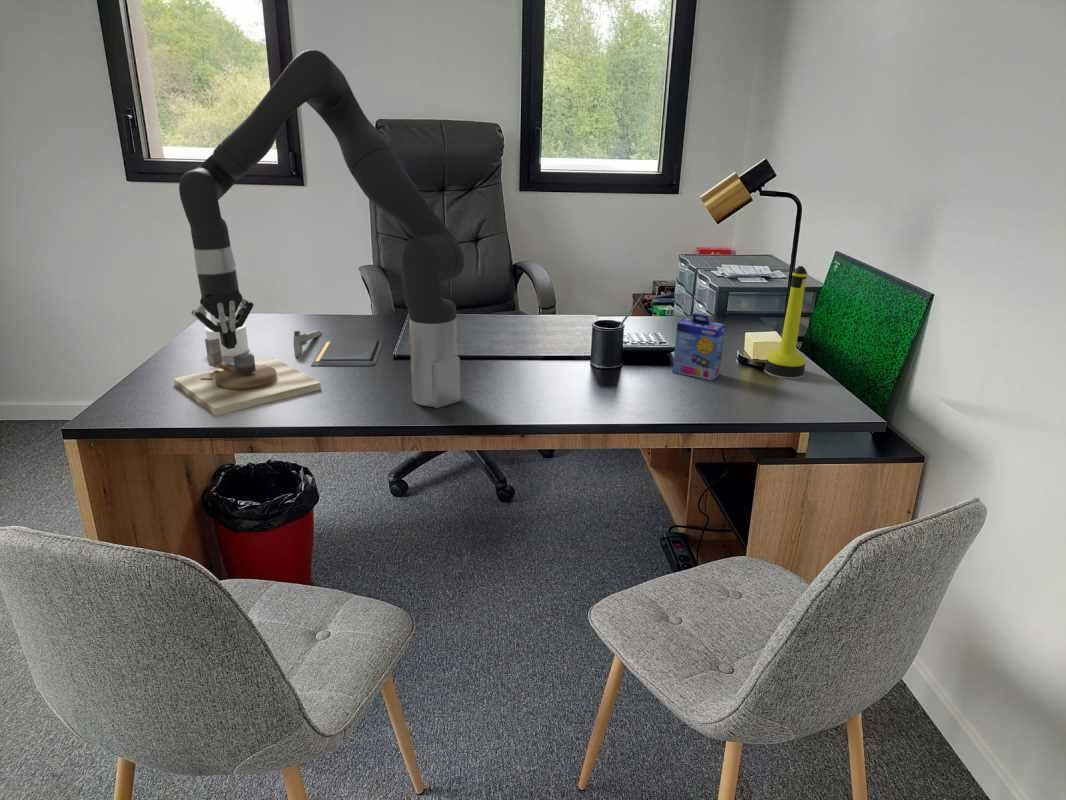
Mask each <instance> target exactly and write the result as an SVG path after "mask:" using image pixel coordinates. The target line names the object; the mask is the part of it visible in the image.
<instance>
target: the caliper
mask: <svg viewBox="0 0 1066 800" xmlns="http://www.w3.org/2000/svg"><path fill="white" fill-rule="evenodd" d="M293 333H294V334H293V335H294V336H293V349H294V357H295V358H300V357H301V356H302V355H303V348H304V347H303V346H305V345H307V344H308V343H307V342H308V341H311V340H312V339H315V338H319V337H320V335H321V334H322V331H321V330H319V329H316V330H313V331H310V332H307V333H306V332H305V333H303V332H302V333H301V330H295V331H294V332H293Z"/></svg>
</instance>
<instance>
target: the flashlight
mask: <svg viewBox="0 0 1066 800" xmlns="http://www.w3.org/2000/svg"><path fill="white" fill-rule="evenodd" d="M791 275H792V278H791V283H790V284H791V285H790V290H789V296H788V301H787V307H786V311H785V312H786V313H785V317H784V323H783V329H782V333H781V334H782V335H781V339H780V340H781V341H780V346H779V349H774V350H773V349H772V351H771V352H769V355H768V356H767V358H766V361H765V365H764V368H763V369H764V370H763V371H764V372H765V373H766V374H767V375H770V376H772V377H775V378H779V379H790V380H796V379H801V378H803V377H804V376H805V370H806V369H805V367H806V361H805V358H804V355H803V354H802V353H801V352H798V351H796V350H797V344H798V336H799V329H800V323H801V316H802V315H801V314H802V310H803V309H802V307H803V301H804V296H805V289H806V288H805V287H806V281H807V277H808V272H807V269H806V268H805V267H804V266H802V265H798V266H797V267H796V268H795V269H794V270H793V271H792V274H791Z"/></svg>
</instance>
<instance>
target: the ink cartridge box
mask: <svg viewBox="0 0 1066 800" xmlns="http://www.w3.org/2000/svg"><path fill="white" fill-rule="evenodd" d="M702 318H703V319H702ZM709 319H710V318H709V315H707V314H699V313H692V318H689V317H684V318H682V319H681V320H679V321H678V322H677V323H676V324H677V325H676V335H675V343H674V344H675V345H674V353H673V354H674V355H673V365H672V373H673V374H674V373H675V374H679V375H683V376H688V377H693V378H699V379H704V380H708V381H714V380H715V379H716V378H717V377H718V376H720V374H721V365H722V357H723V350H724V349H723V348H724V342H725V341H724V340H725V332H726V331H725V330H726V324H725V323H721V322H715V321H710V320H709Z"/></svg>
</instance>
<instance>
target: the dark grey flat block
mask: <svg viewBox="0 0 1066 800" xmlns="http://www.w3.org/2000/svg"><path fill="white" fill-rule="evenodd" d="M383 346H384V341H383V340H382V341H381V340H380V339H377V338H369V339H368V338H358V339H357V338H351V339H349V338H348V339H347V338H341V339H339V338H335V339H331V340H326V341H325V342H324V343H323V345H322V347H321V348H320V351H319V352H318V353H317V355H316V356H315V359H314V360H313V362H312V363H311V365H310V367H311V368H312V367H315V368H316V367H320V368H321V367H326V368H327V367H329V368H333V367H336V368H337V367H338V368H342V367H344V368H346V367H347V368H351V367H352V368H354V367H357V368H358V367H359V368H360V367H361V368H364V367H365V368H366V367H367V368H368V367H375V366H376V365H377V363H378V359H379V356H380V353H381V351H382V348H383Z"/></svg>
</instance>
